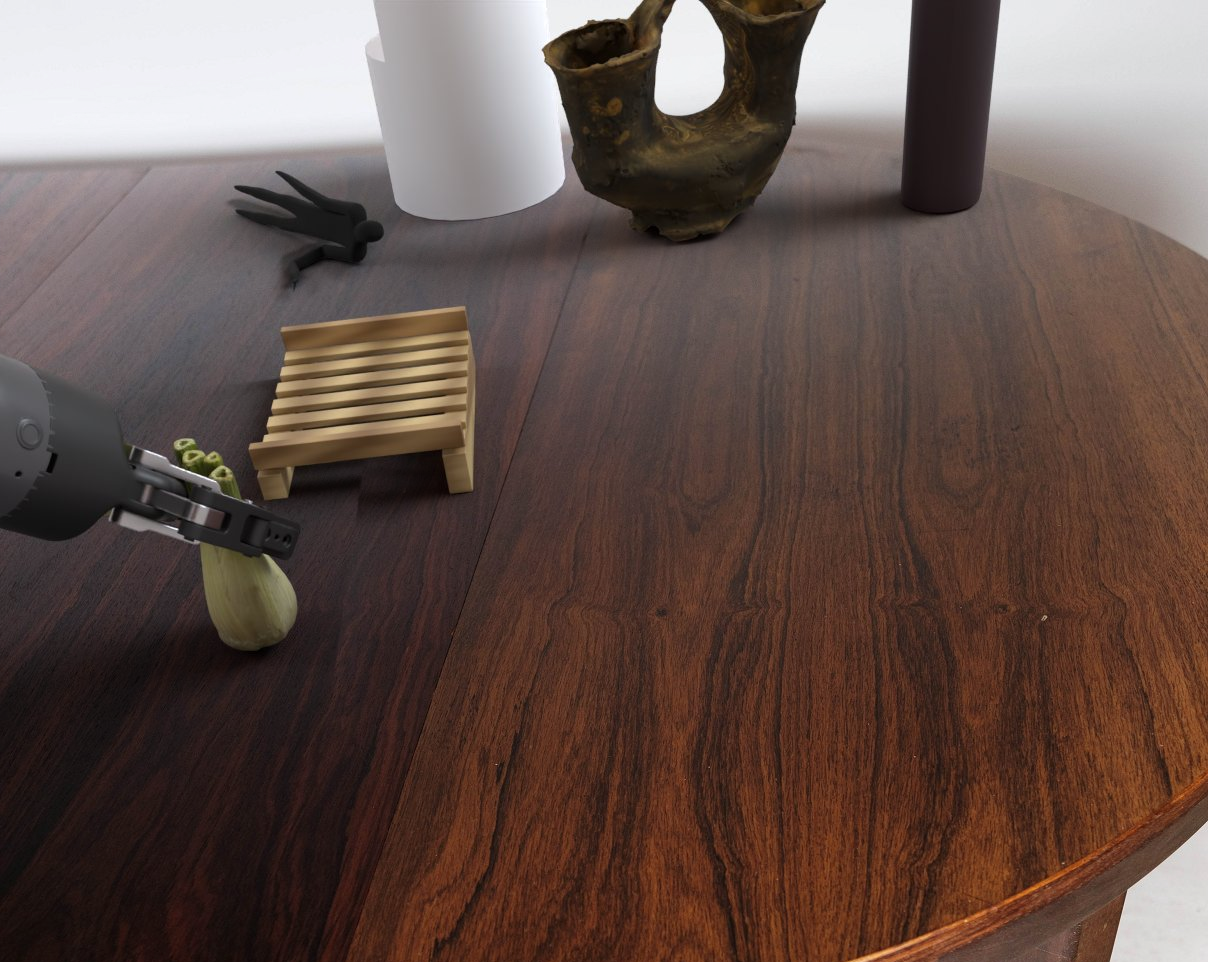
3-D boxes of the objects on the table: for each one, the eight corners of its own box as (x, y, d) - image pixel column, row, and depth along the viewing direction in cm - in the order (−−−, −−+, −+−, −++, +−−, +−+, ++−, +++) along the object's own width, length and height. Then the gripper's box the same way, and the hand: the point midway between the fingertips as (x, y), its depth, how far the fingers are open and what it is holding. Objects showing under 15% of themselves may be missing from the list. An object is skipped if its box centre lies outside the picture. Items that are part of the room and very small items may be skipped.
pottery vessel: (788, 171, 125) (788, -63, 112) (845, 207, 117) (853, -40, 104) (547, 232, 120) (518, -7, 106) (590, 273, 112) (565, 21, 99)
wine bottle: (981, 184, 118) (1021, -216, 98) (979, 215, 113) (1021, -200, 93) (902, 184, 120) (926, -209, 100) (897, 215, 115) (921, -193, 95)
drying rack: (268, 515, 88) (248, 449, 85) (298, 388, 101) (281, 327, 98) (473, 491, 88) (460, 424, 84) (475, 367, 101) (465, 305, 98)
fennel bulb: (219, 611, 78) (159, 434, 69) (301, 595, 78) (251, 418, 70) (219, 671, 73) (155, 489, 65) (306, 654, 74) (253, 472, 66)
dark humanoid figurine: (162, 159, 123) (302, 197, 108) (245, 160, 129) (389, 196, 113) (168, 248, 127) (304, 297, 112) (248, 245, 133) (388, 291, 117)
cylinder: (600, 173, 129) (569, -161, 111) (473, 234, 121) (416, -117, 102) (485, 144, 139) (438, -168, 120) (359, 198, 130) (288, -128, 112)
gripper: (-126, 477, 62) (149, 553, 76) (59, 562, 55) (322, 628, 70) (-78, 326, 61) (190, 432, 76) (115, 393, 54) (368, 495, 69)
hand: (252, 525), depth 73 cm, fingers closed on fennel bulb, 5 cm apart
